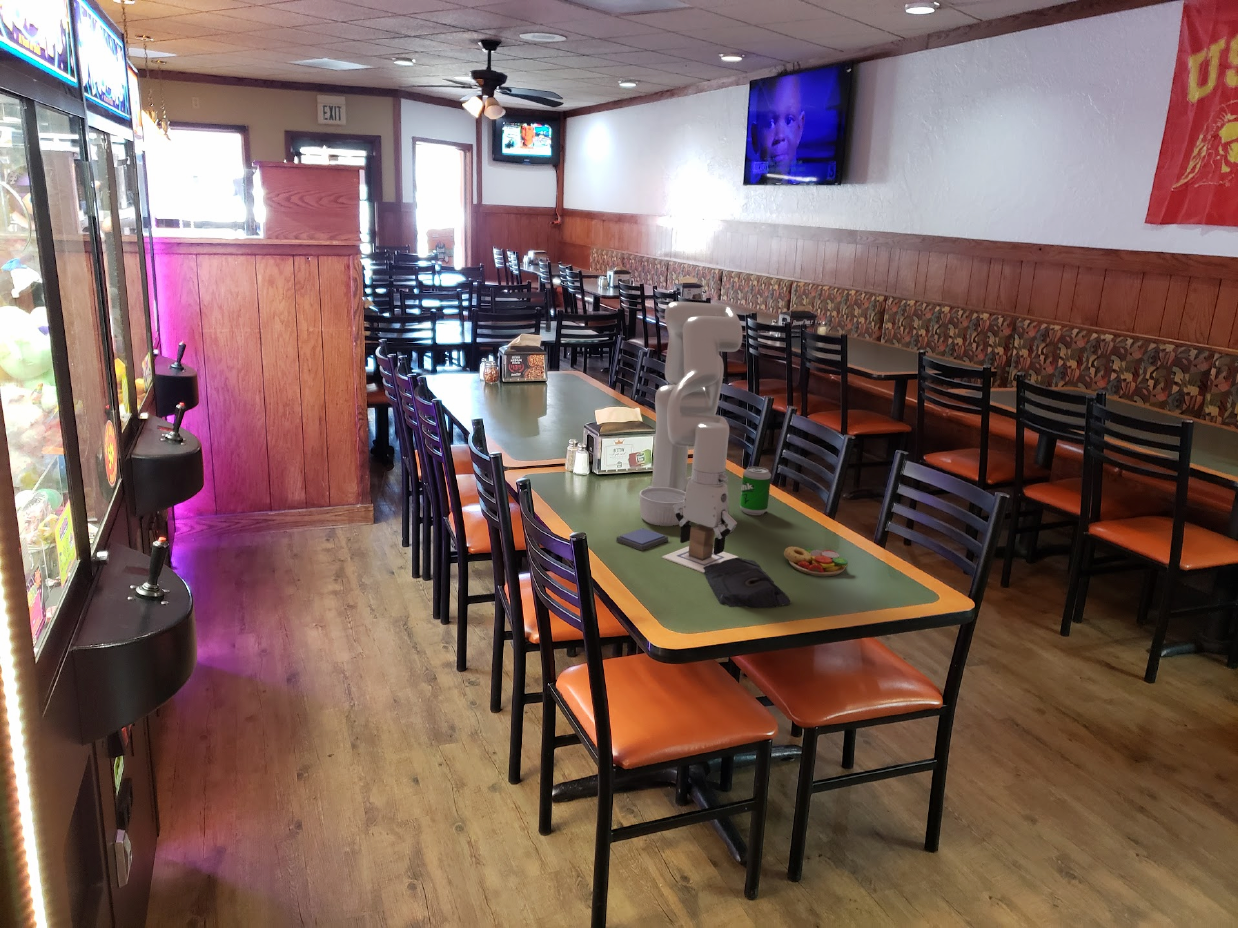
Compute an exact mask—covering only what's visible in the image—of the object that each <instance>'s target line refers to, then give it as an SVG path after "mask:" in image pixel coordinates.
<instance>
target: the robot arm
mask: <svg viewBox="0 0 1238 928" xmlns="http://www.w3.org/2000/svg"><path fill="white" fill-rule="evenodd" d="M664 321H665V326H666V328H667V332H668V344H667V350H666V358H665V366H664V377H665V380H666V381H667V382H668V383H669V384H666V385H662V386H660V387H659V388H658V389H657V390H656V392H655V395H654V396H655V398H654V408H655V418H656V419H655V420H656V422H655V439H654V450H653V452H654V454H653V468H652V480H651V484H650V485H648V486H647V487H646V488H652V487H667V488H673V489H678V490H681V491H684V492H686V493H685V498H684V502H681V503H678V504H675V505H673V507H674V511H675V513H676V518H677V519H678V521H679V524H678V525H679V527H680V533H679V537H680V538H679V539H680V540H679V542H680V543H681V544H684V543H687V542H690V531H691V528H692V524H691V523H695V524H697V525H703V526H706V527H709V528H713V529H714V531H715V533H714V534H715V535H716V537H714V544H713V548H714V550H713V553H714V554H715V555H717V554H719V553H722V552H724V550H725V547H726V546H725V545H726V538H727V537H728V536H729V535H730V534H732V533H733V532H734V530H735V528H736V527H737V525H738V522H737V521H736V520H735V519H734V518H733V517H732V516H731V515H730V514H729V509H730V507H729V505H730V504H729V500H730V499H729V489H728V484H726V483H728V482H729V476H727V475H726V467H727V455H728V444H729V437H730V425H729V423H728V421H727V420H726V418H725V417H724V416H722V415H716V413H717V411H718V406H719V400H720V395H721V389H722V386H723V385H722V384H723V379H724V370H725V369H724V366H725V365H724V360H723V358H722V356H721V355H720V352H728V353H733V352H737V351H738V350H739V349H740V348H741V346H742V343H743V328H742V323H741V321H740V319H739V317H738V315H737V313H736V312H735V310H734V308H733V307H732V306H730V305H728V304H723V303H709V302H708V303H707V302H698V301H697V302H696V301H695V302H694V301H693V302H692V301H671V302H669V303H668V305H666V308H665V311H664ZM689 447H693V452H692V453H693V455H692V466H691V476H688V477H687V469H688V455H689ZM682 507H683V512H682ZM726 525H727V526H726Z"/></svg>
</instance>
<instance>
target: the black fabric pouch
mask: <svg viewBox="0 0 1238 928" xmlns="http://www.w3.org/2000/svg"><path fill="white" fill-rule="evenodd" d="M703 569H704V570H705V572H704V573H703V575H704V576H705V578H706V581H707V583H708V585H709V587H710V589H711V591H712V592H713V593H714V596H715V598H716V599H717V601H718V603H719V604H720V605H723V606H724V605H725V606H728V607H729V608H750V609H769V608H770V609H771V608H776V607H783V606H789V605H791V599H790V597H789V596H788V595H787V594H786V593H785V592H784V591H783V589H781V588H780V587H779V586H778V585H776V583H775V581H774V580H773V578H772V577H770V575H768V574H767V572H765V571H764V570H763V568H762V567H761V565H760V564H759V563H757V562H756V561H755V560H754V559H753V560H752V559H746V558H744V559H743V558H742V557H739V558H732V559H728V560H724V561H722V562H720V563H715V564H710V565H708V566H705V567H703Z"/></svg>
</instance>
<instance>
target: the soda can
mask: <svg viewBox="0 0 1238 928" xmlns="http://www.w3.org/2000/svg"><path fill="white" fill-rule="evenodd" d="M771 477H772V474H771V472H770V471H769V469H767V468H765V467H760V466H748V467H746V469H745V470H743V472H742V480H741V491H740V492H741V493H740V500H739V501H740V502H739V508H740V509H741V511H742V512H743V513H744V514H747V515H750V516H761V514H762V515H764V513H765V512H767V511H768V507H769V498H770V490H771V489H770V488H771Z"/></svg>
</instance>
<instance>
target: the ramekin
mask: <svg viewBox="0 0 1238 928" xmlns="http://www.w3.org/2000/svg"><path fill="white" fill-rule="evenodd" d="M685 493H686V492H684V491H681V490H678V489H673V488H667V487H652V488H647V487H646V488H644V489H641V490H640V491H639V494H638V498H639V507H640V509H639V510H640V517H641V518H642V519H643V521H644V522H646V523H648V524H651V525H655V526H659V525H660V526H661V527H674V526H678V525H679V521H678V519H677V518H676V513H675V511H674V507H673V505H675V504H678V503H681V502H684V498H685ZM682 512H683V507H682ZM673 525H674V526H673Z"/></svg>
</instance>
